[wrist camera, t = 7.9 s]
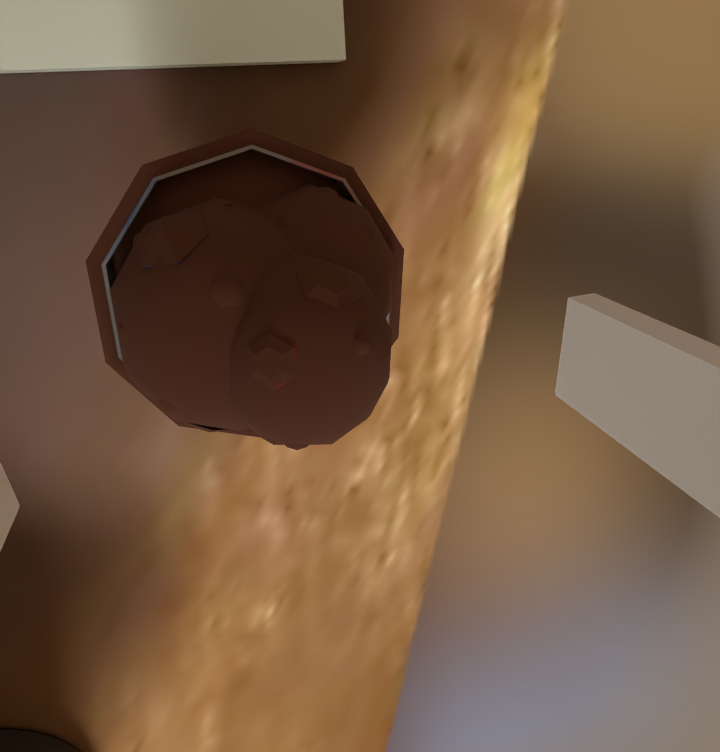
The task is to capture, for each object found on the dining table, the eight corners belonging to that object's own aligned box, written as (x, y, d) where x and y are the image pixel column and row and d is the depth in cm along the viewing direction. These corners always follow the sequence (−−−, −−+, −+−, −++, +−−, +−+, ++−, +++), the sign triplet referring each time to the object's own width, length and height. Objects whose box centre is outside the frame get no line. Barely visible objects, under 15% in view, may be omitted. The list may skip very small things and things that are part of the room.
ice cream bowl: (338, 130, 26) (498, 137, 13) (336, 342, 30) (451, 503, 17) (102, 123, 23) (-2, 122, 10) (141, 359, 27) (105, 568, 15)
